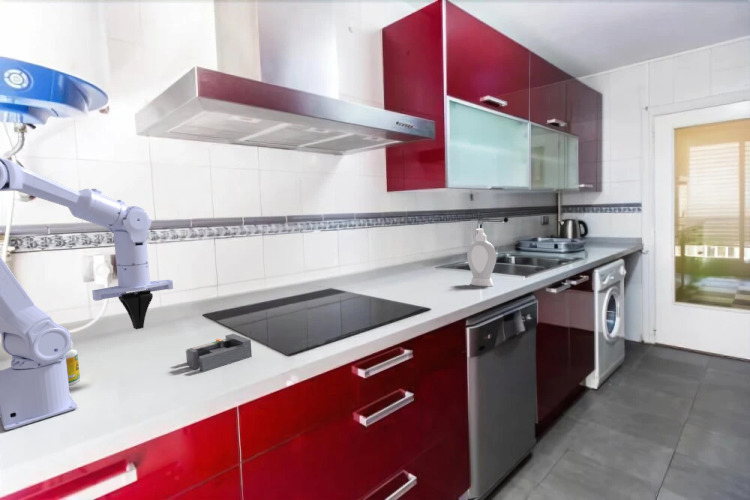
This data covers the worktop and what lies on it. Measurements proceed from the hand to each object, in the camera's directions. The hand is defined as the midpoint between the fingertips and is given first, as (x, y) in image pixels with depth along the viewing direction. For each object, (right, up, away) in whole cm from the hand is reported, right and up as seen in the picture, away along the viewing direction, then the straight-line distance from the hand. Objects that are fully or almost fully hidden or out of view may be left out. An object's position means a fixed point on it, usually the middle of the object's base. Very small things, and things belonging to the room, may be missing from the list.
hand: (138, 327), depth 85 cm
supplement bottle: (-13, -11, -3) cm, 17 cm away
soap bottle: (+95, +1, +86) cm, 128 cm away
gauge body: (+14, -9, +7) cm, 18 cm away
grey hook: (+12, -9, +6) cm, 16 cm away
